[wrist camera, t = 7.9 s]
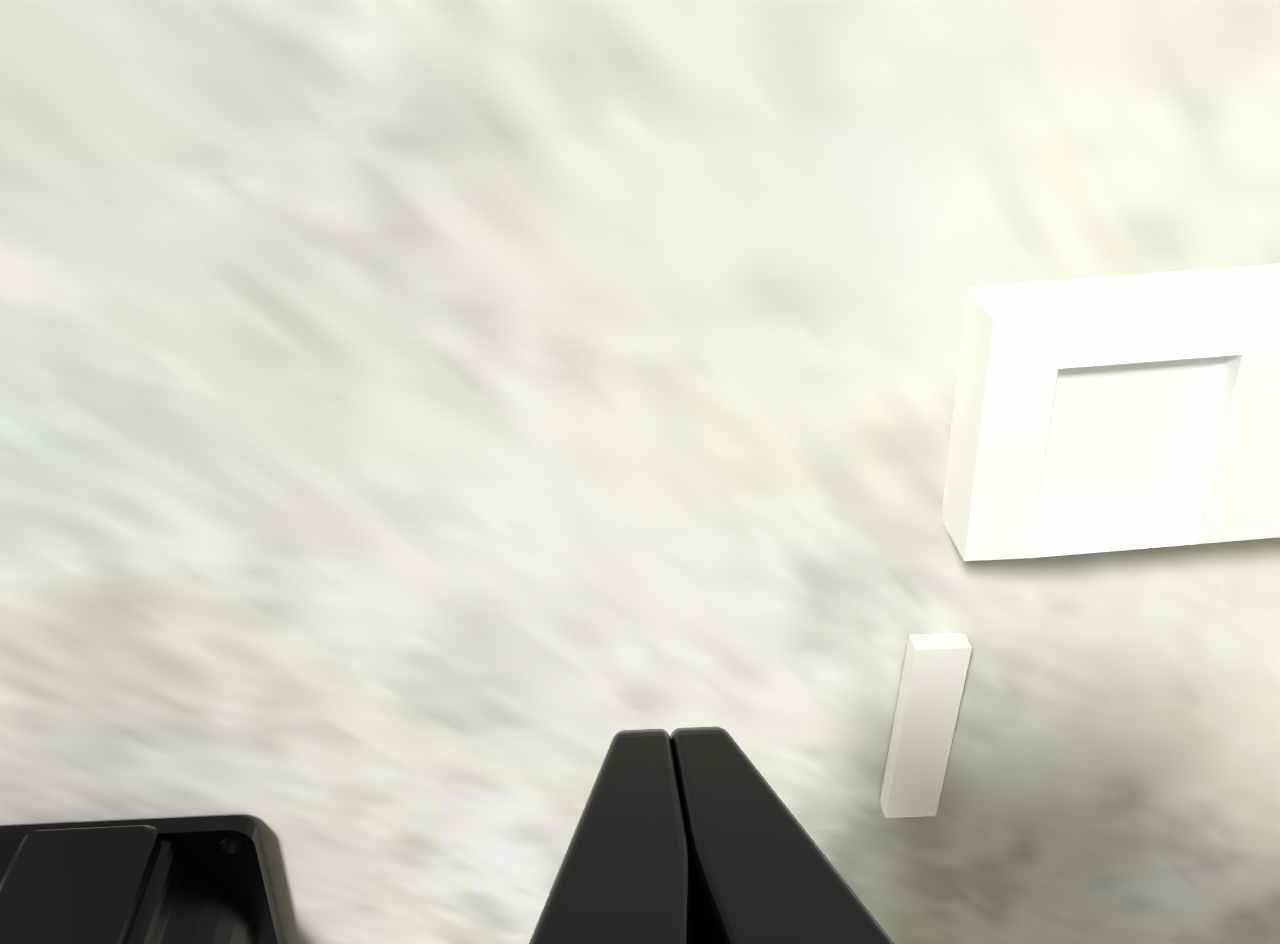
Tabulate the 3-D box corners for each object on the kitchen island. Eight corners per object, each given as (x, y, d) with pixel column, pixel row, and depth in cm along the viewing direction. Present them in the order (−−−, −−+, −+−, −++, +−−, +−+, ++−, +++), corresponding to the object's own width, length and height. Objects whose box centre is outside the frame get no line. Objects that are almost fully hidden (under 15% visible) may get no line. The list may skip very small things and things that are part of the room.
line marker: (929, 799, 26) (936, 816, 26) (879, 802, 26) (885, 818, 26) (964, 632, 24) (971, 648, 24) (908, 634, 24) (915, 650, 23)
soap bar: (1368, 473, 23) (1458, 547, 21) (935, 509, 23) (978, 587, 21) (1445, 242, 21) (1557, 298, 18) (959, 278, 20) (1011, 339, 18)
